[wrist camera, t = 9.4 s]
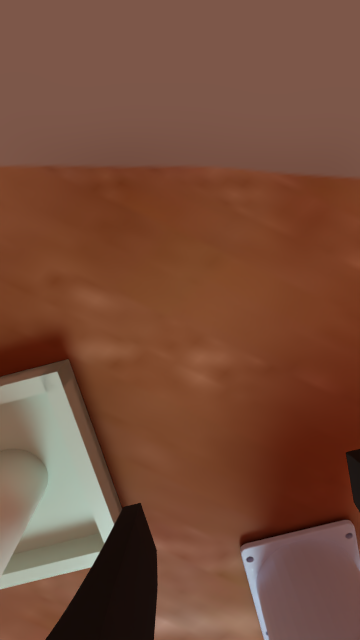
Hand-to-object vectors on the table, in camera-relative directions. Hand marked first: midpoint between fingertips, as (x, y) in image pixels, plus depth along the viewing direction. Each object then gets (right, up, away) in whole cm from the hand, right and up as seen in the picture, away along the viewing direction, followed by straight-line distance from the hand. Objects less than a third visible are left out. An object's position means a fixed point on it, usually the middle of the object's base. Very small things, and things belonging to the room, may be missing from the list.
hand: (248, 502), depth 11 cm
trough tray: (-13, -4, +10) cm, 17 cm away
